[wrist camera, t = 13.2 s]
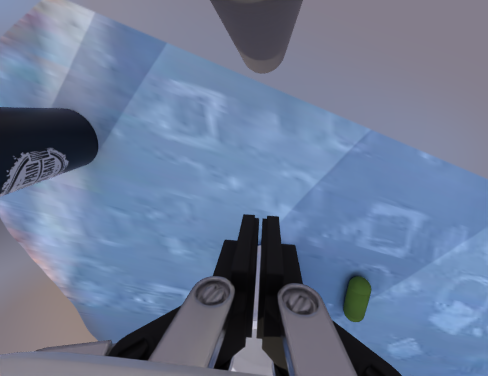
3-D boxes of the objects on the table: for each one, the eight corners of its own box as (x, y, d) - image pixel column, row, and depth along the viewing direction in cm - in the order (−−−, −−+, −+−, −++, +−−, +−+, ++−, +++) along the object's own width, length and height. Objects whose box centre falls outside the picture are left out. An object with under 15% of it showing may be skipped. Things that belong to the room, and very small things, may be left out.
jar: (226, 270, 39) (202, 362, 25) (256, 226, 36) (249, 305, 22) (277, 298, 40) (282, 401, 26) (312, 258, 37) (340, 353, 23)
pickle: (347, 271, 37) (354, 285, 34) (368, 272, 36) (377, 287, 33) (339, 309, 40) (345, 325, 37) (358, 310, 39) (365, 327, 36)
